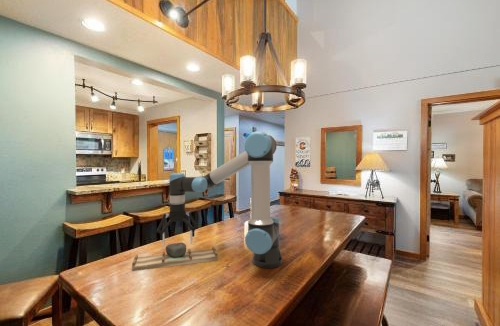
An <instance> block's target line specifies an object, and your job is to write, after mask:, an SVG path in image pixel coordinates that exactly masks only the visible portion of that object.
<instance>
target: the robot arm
mask: <svg viewBox="0 0 500 326" xmlns="http://www.w3.org/2000/svg"><path fill="white" fill-rule="evenodd" d="M244 149H245V151H243V152H241V153H239V154H238V155H237V156H235V157H233V158H231V159H230V160H229V161H226V162H225V163H223V164H222V165H220V166H218V167H217V168H214V169H213V170H212V171H210V172H209V173H206V174H205V175H202V176H189V177H187V176H186V175H185V173H184V172H175V173H170V174H169V181H168V185H169V203H170V204H169V213H166V212H163V215H162V216H163V217H162V218H161V221H160V223H159V225H158V227H157V229H156V231H155V232H156V234H159V235H160V237H159V238H160V241H162V248H166V244H165V240H166V239H165V231H166V230H167V229H168V227H170V226H171V224H172V223H173V222H174V223H177V222H183V223H185V224H186V226H187V227H188V228H190V231H189V232H190V236H189V237H190V244H191V245H192V244H193V237H196V236H195V231H196V230H198V229H199V227H198V225H197V223H196V221H195V219H194V218H193V216H192V215H193V214H192V211H190V210H189V211H188V212H186V203H185V201H186V193H203V192H206V191H207V190H211V189H213V188H214V187H216V186H217V185H218V184H220V183H222V182H223V181H225V180H227V179H228V178H230V177H232V176H234V175H235V174H238V173H239V172H241V171H242V170H244V169H246V168H247V167H250V180H251V181H250V185H251V186H250V187H251V188H250V196H251V200H250V201H251V205H250V206H251V207H250V211H251V217H250V219H249V220H248V222H247V224H248V225H247V227H248V229H247V231H248V232H247V233H246V235H245V240H244V243H245V245H246V247H247V248H248V250H249V251H250V252H252V253H253V256H252V263H253V265H255V266H256V267H259V268H263V269H274V268H279V267H280V266H283V265H282V264H283V256H282V253H281V249H280V220H279V218H278V217H276V216H275V217H274V216H271V171H270V170H271V168H270V167H271V164H273V162H274V154H275V153H276V151H277V142H276V139H275V138H274V137H273V136H272V135H270V134H268V133H267V132H265V131H259V130H258V131H253V132H252V133H249V135H248V136H247V137H246V138H245V141H244ZM186 216H187V217H189V219H190V221H191V223H192V224H191V223H190V222H189V221H188V220H187V218H186ZM168 217H169V218H170V219H169V220H168V222H166V224H165V225H164V223H165V221H166V219H167V218H168ZM163 225H164V226H163Z"/></svg>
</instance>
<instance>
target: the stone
mask: <svg viewBox="0 0 500 326" xmlns="http://www.w3.org/2000/svg"><path fill="white" fill-rule="evenodd" d="M186 252H187V244H186V243H184V242H176V243H175V242H174V243H169V244H167V245H165V254H168V255H170V256H172V257H181V256H184V255H185V253H186Z"/></svg>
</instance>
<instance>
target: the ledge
mask: <svg viewBox="0 0 500 326" xmlns="http://www.w3.org/2000/svg"><path fill="white" fill-rule="evenodd" d="M218 255H219V253H218V252H217V249H216V248H215V246H212V248H211V249H204V250H194V251H193V250H191V248H189V249H188V250H187V251H186V253H185V255H184V256H181V257H172V256H170V255H168V254H167V253H166V251H162V254H158V255H157V254H156V255H148V256H139V255H138V254H135V255H134V258H133V260H132V263H131V265H132V266H131V267H132V269H131V272H135V271H144V270H152V269H153V270H154V269H161V268H167V267H176V266H184V265H191V264H192V265H193V264H201V263H207V262H208V263H210V262H216V261H218V257H219V256H218Z"/></svg>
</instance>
